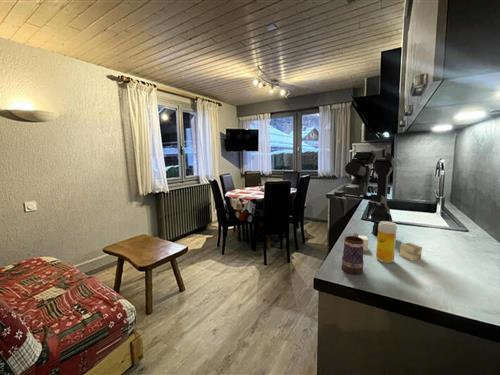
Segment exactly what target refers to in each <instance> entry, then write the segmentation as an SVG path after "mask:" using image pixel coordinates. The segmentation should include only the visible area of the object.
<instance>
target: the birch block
mask: <svg viewBox="0 0 500 375" xmlns="http://www.w3.org/2000/svg"><path fill="white" fill-rule="evenodd" d="M399 249H400V250H399V256H400V257H402V258H405V259H407V260H409V261H416V260H421V259H422V252H423V246H421V245H418V244H415V243H412V242H405V243H401V244H400V248H399Z"/></svg>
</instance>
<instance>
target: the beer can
mask: <svg viewBox="0 0 500 375" xmlns="http://www.w3.org/2000/svg"><path fill="white" fill-rule="evenodd" d="M397 229H398V227H397V223H396V222H394V221H392V222H389V221H380V223H379V225H378V236H377V237H376V239H377V240H376V251H375V252H376V253H375V254H376V255H375V257H376V258H377V261H378V262H382V263H386V264H391V263H393V262H394V261H395V253H396V240H397Z"/></svg>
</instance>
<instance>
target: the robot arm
mask: <svg viewBox="0 0 500 375" xmlns="http://www.w3.org/2000/svg"><path fill="white" fill-rule="evenodd" d="M371 165H373V168H374V173H375V174H376V175H377V182H376V183H377V184H376V186H377V187H376V194H373V193H370V195H368V188H369V187H370V184H369V181H370V176H371V172H372V169H371V167H370V166H371ZM394 167H395V159H394V155H392V154H391V153H390V152H389V151H388V149H387V148H385V147H382V148H380V147H379V148H374V149H370V150H369V149H367V150H366V149H365V150H357V151H355V153H354V155H353V156H352V158H351V160H350V161H348V162H347V163H346V165H345V167H344V170H345V173H346V174H347V175H349V176H351V177H353V179H352V181H351V184H349V185H346V186H345V190H338V189H337V190H335V191H334V192H333V197H334V198H336V200H338V202H339V203H340V208H341V211H342V212H341V213H342V216H346V213H347V210H348V203H349V200H348V198H349V199H355V200H363V201H368V206H367V210H366V215H365V220H369V219H370V222H371V223H373V225H372V231H371V234H373V235H375V236H376V237H378V225H379V223H380V221H389V222H393V217H392V213H391V209H390V207H389V206H388V192H389V191H388V188H389V176H390V174H391V173H392V171H393V169H394Z"/></svg>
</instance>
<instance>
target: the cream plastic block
mask: <svg viewBox="0 0 500 375" xmlns="http://www.w3.org/2000/svg"><path fill="white" fill-rule="evenodd" d="M358 237H359V238H362V239H363V242H364V246H363V251H366V252H368V250H369V238H368V237H367V236H366V235H359V234H358Z"/></svg>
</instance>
